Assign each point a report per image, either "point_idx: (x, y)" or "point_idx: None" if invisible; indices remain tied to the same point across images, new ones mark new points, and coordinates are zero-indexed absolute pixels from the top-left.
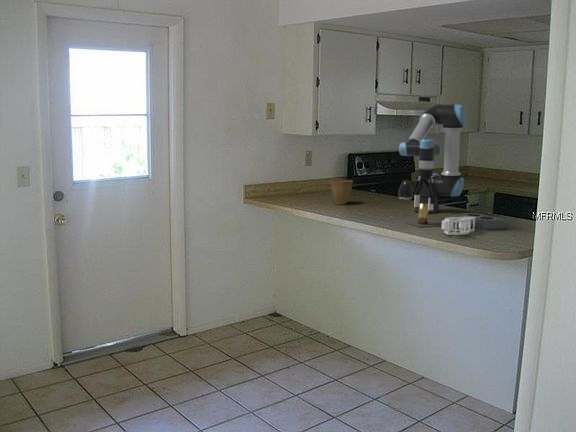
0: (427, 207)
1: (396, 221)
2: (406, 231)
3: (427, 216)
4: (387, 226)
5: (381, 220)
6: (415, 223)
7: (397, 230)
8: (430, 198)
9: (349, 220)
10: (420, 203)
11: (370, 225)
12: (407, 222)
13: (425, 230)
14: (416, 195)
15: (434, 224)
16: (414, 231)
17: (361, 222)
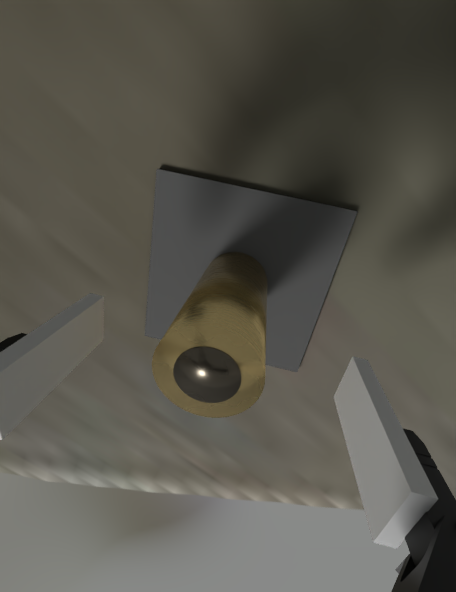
0: (265, 349)
1: None
2: (342, 477)
3: (265, 297)
4: (199, 453)
5: None
6: None
7: (301, 485)
8: (400, 527)
9: (23, 465)
10: (186, 398)
11: (152, 481)
12: (156, 327)
13: None
14: (5, 423)
15: (294, 226)
16: None
17: (77, 463)
